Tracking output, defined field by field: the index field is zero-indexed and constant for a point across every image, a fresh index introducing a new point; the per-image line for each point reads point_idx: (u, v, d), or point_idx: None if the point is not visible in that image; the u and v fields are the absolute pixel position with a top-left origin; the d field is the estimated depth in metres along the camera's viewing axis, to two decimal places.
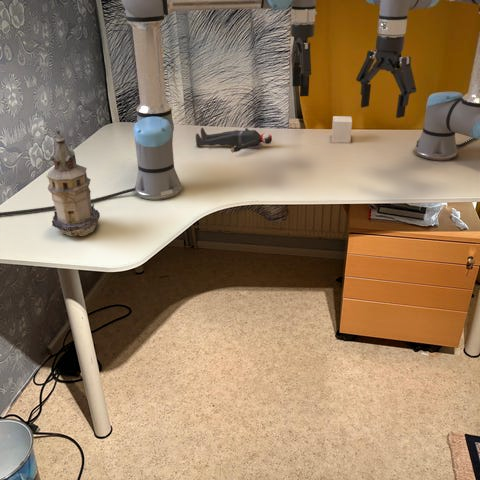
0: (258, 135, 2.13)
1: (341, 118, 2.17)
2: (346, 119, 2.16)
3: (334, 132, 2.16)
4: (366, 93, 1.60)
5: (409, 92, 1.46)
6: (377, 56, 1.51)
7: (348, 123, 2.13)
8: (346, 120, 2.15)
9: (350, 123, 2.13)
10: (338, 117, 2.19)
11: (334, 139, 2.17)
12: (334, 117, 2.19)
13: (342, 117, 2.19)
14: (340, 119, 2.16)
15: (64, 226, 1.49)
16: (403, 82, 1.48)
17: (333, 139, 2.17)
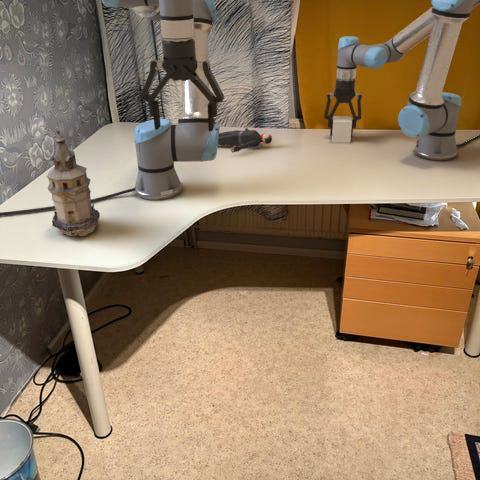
0: (258, 135, 2.13)
1: (341, 118, 2.17)
2: (346, 119, 2.16)
3: (334, 132, 2.16)
4: None
5: None
6: None
7: (348, 123, 2.13)
8: (346, 120, 2.15)
9: (350, 123, 2.13)
10: (338, 117, 2.19)
11: (334, 139, 2.17)
12: (334, 117, 2.19)
13: (342, 117, 2.19)
14: (340, 119, 2.16)
15: (64, 226, 1.49)
16: (331, 111, 2.16)
17: (333, 139, 2.17)
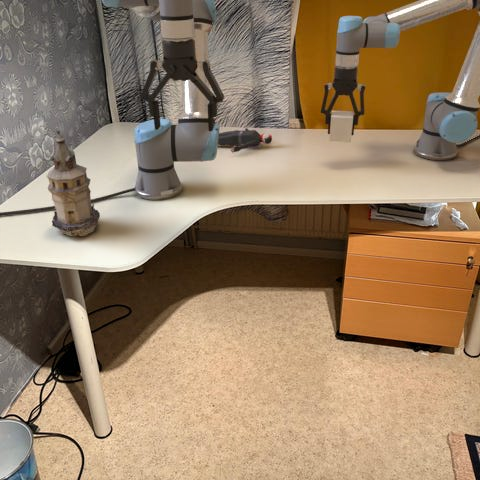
0: (258, 135, 2.13)
1: (341, 113, 1.86)
2: (346, 115, 1.84)
3: (332, 129, 1.85)
4: None
5: None
6: None
7: (349, 119, 1.82)
8: (346, 115, 1.83)
9: (351, 119, 1.82)
10: (337, 112, 1.87)
11: (332, 138, 1.86)
12: (333, 112, 1.87)
13: (342, 112, 1.87)
14: (339, 114, 1.85)
15: (64, 226, 1.49)
16: None
17: (331, 137, 1.86)
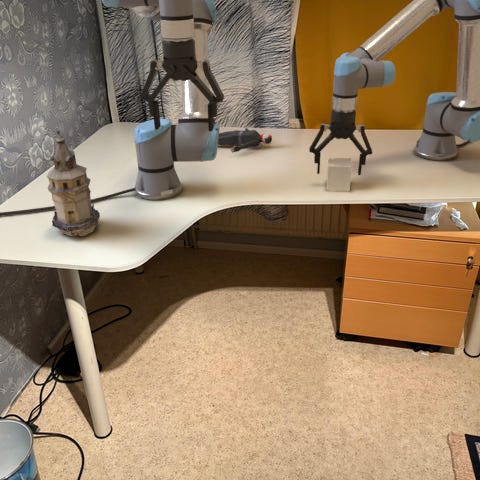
0: (258, 135, 2.13)
1: (339, 161, 1.76)
2: (344, 163, 1.74)
3: (330, 178, 1.75)
4: (359, 161, 1.75)
5: None
6: None
7: (347, 169, 1.72)
8: (344, 164, 1.74)
9: (349, 168, 1.72)
10: (335, 159, 1.77)
11: (330, 187, 1.76)
12: (330, 159, 1.77)
13: (340, 159, 1.77)
14: (337, 163, 1.75)
15: (64, 226, 1.49)
16: (320, 144, 1.73)
17: (328, 187, 1.76)
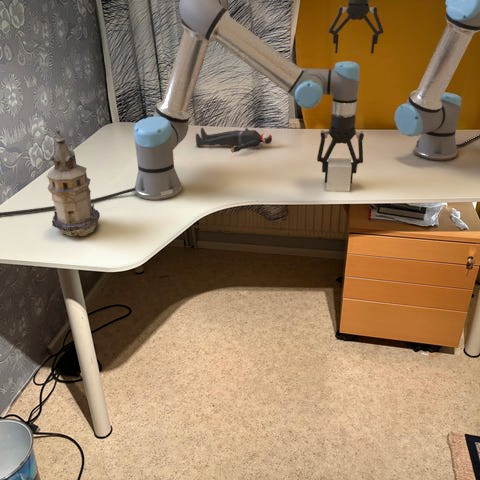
0: (258, 135, 2.13)
1: (338, 161, 1.76)
2: (344, 163, 1.74)
3: (329, 179, 1.75)
4: (372, 41, 2.04)
5: None
6: None
7: (347, 169, 1.72)
8: (344, 164, 1.74)
9: (349, 168, 1.72)
10: (334, 159, 1.77)
11: (330, 187, 1.76)
12: (329, 159, 1.77)
13: (339, 159, 1.77)
14: (337, 163, 1.75)
15: (64, 226, 1.49)
16: (339, 26, 2.03)
17: (328, 187, 1.76)
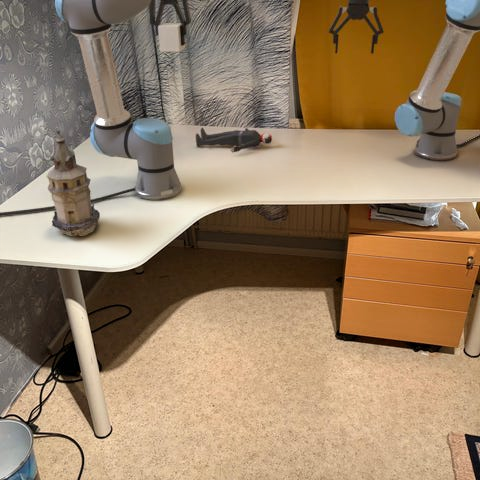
0: (258, 135, 2.13)
1: (170, 24, 1.93)
2: (174, 25, 1.92)
3: (161, 39, 1.92)
4: (372, 41, 2.04)
5: None
6: None
7: (174, 28, 1.90)
8: (173, 25, 1.91)
9: (176, 27, 1.89)
10: (168, 23, 1.95)
11: (162, 48, 1.94)
12: (163, 23, 1.95)
13: (172, 23, 1.95)
14: (168, 24, 1.92)
15: (64, 226, 1.49)
16: (339, 26, 2.03)
17: (161, 47, 1.94)
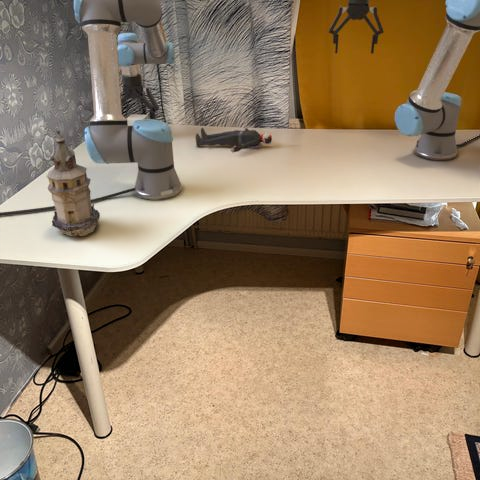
0: (258, 135, 2.13)
1: (135, 117, 2.23)
2: (139, 118, 2.22)
3: None
4: (372, 41, 2.04)
5: None
6: None
7: None
8: (138, 118, 2.21)
9: None
10: (134, 115, 2.25)
11: None
12: (130, 115, 2.25)
13: (138, 115, 2.25)
14: (133, 117, 2.22)
15: (64, 226, 1.49)
16: (339, 26, 2.03)
17: None
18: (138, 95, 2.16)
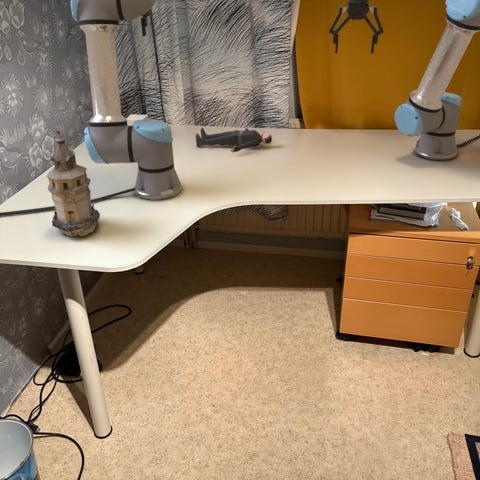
0: (258, 135, 2.13)
1: (135, 117, 2.23)
2: (139, 118, 2.22)
3: None
4: (372, 41, 2.04)
5: None
6: None
7: None
8: (138, 118, 2.21)
9: None
10: (134, 115, 2.25)
11: None
12: (130, 115, 2.25)
13: (138, 115, 2.25)
14: (133, 117, 2.22)
15: (64, 226, 1.49)
16: (339, 26, 2.03)
17: None
18: None
